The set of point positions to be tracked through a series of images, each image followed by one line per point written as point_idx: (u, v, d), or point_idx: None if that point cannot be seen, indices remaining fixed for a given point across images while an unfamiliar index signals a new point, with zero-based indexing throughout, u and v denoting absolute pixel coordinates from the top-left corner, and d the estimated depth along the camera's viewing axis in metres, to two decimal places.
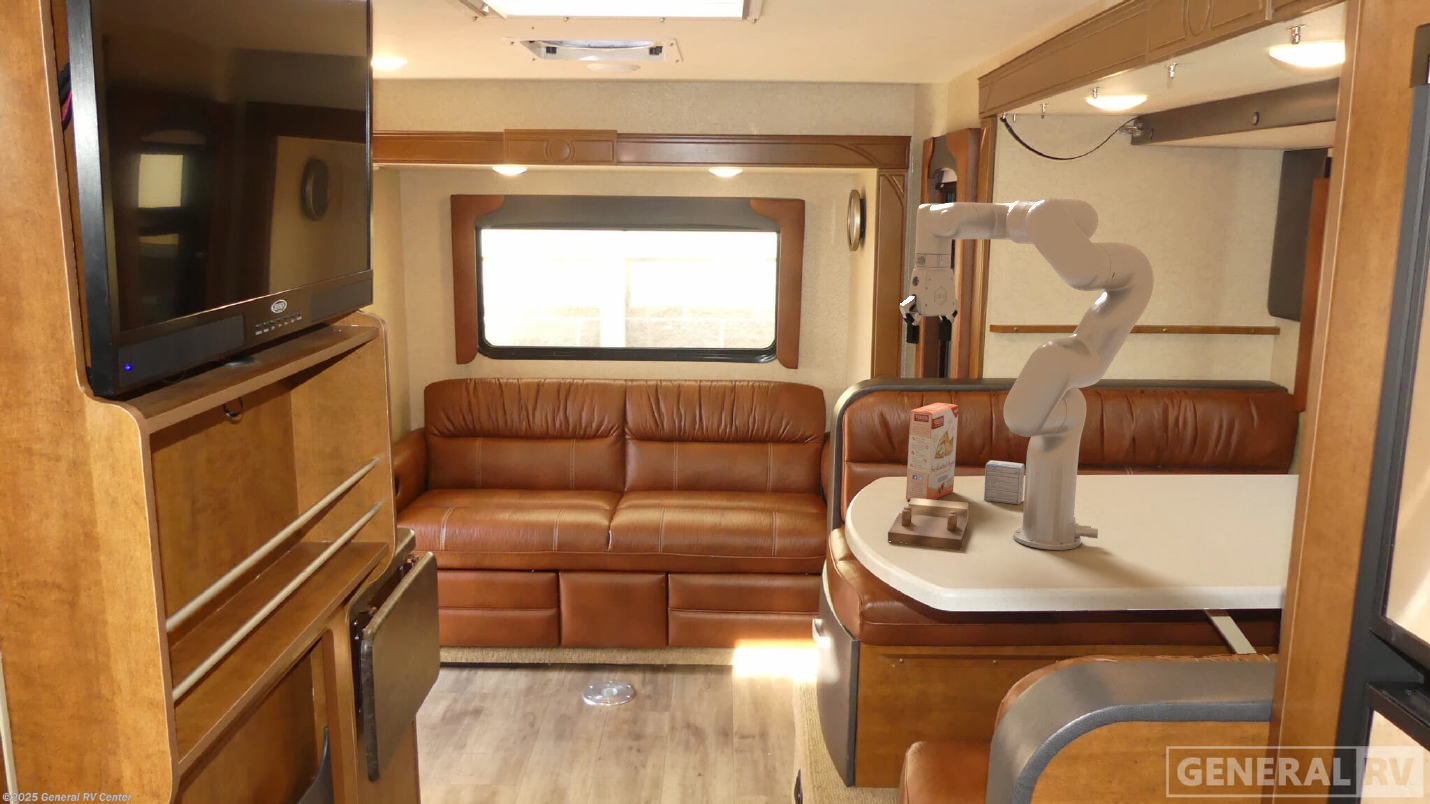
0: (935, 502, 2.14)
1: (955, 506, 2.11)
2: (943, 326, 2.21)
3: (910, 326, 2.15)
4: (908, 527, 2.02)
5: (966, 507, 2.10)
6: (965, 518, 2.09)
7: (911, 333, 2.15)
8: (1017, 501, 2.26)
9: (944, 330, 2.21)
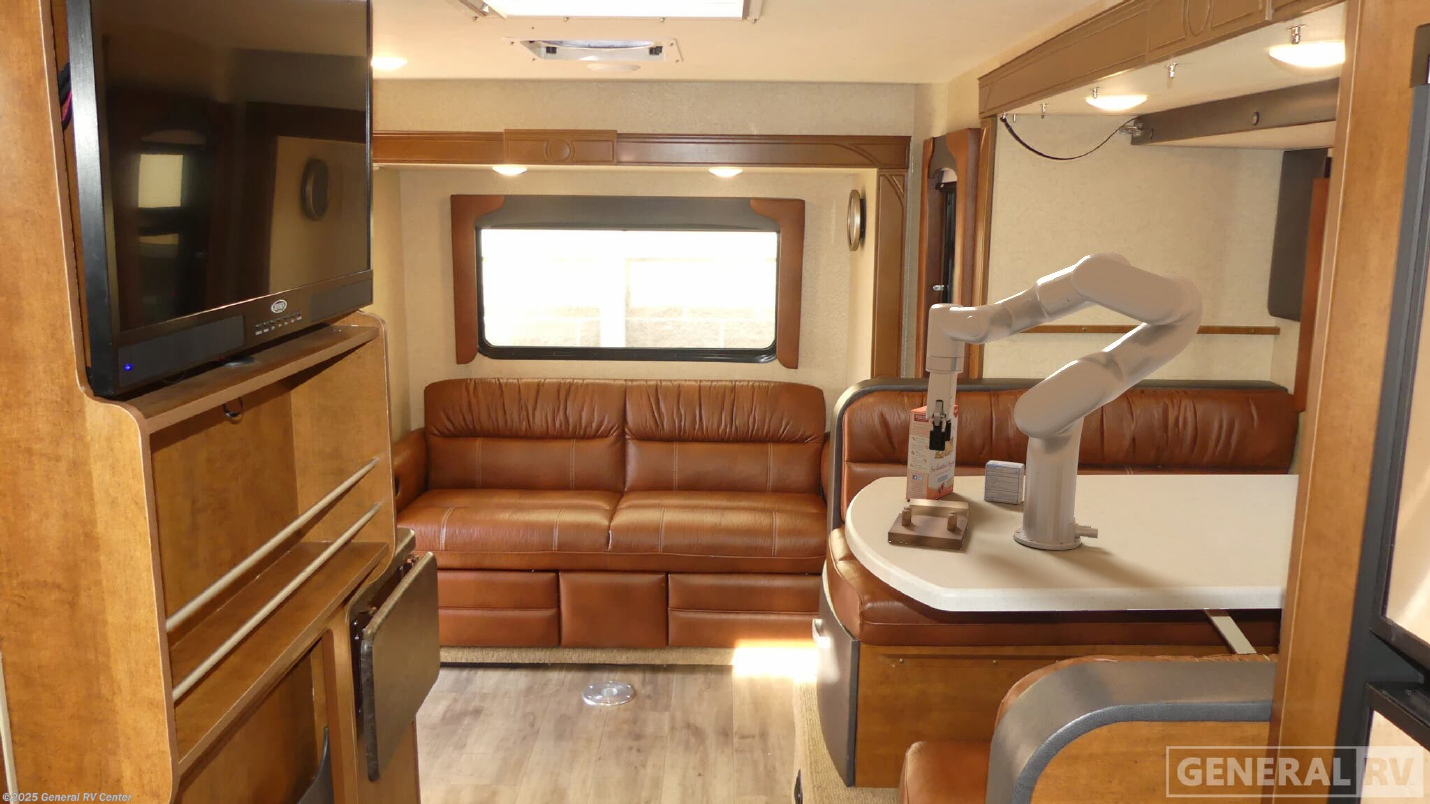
0: (935, 502, 2.14)
1: (956, 506, 2.11)
2: None
3: None
4: (908, 527, 2.02)
5: (967, 506, 2.10)
6: (966, 517, 2.10)
7: None
8: (1017, 501, 2.26)
9: None
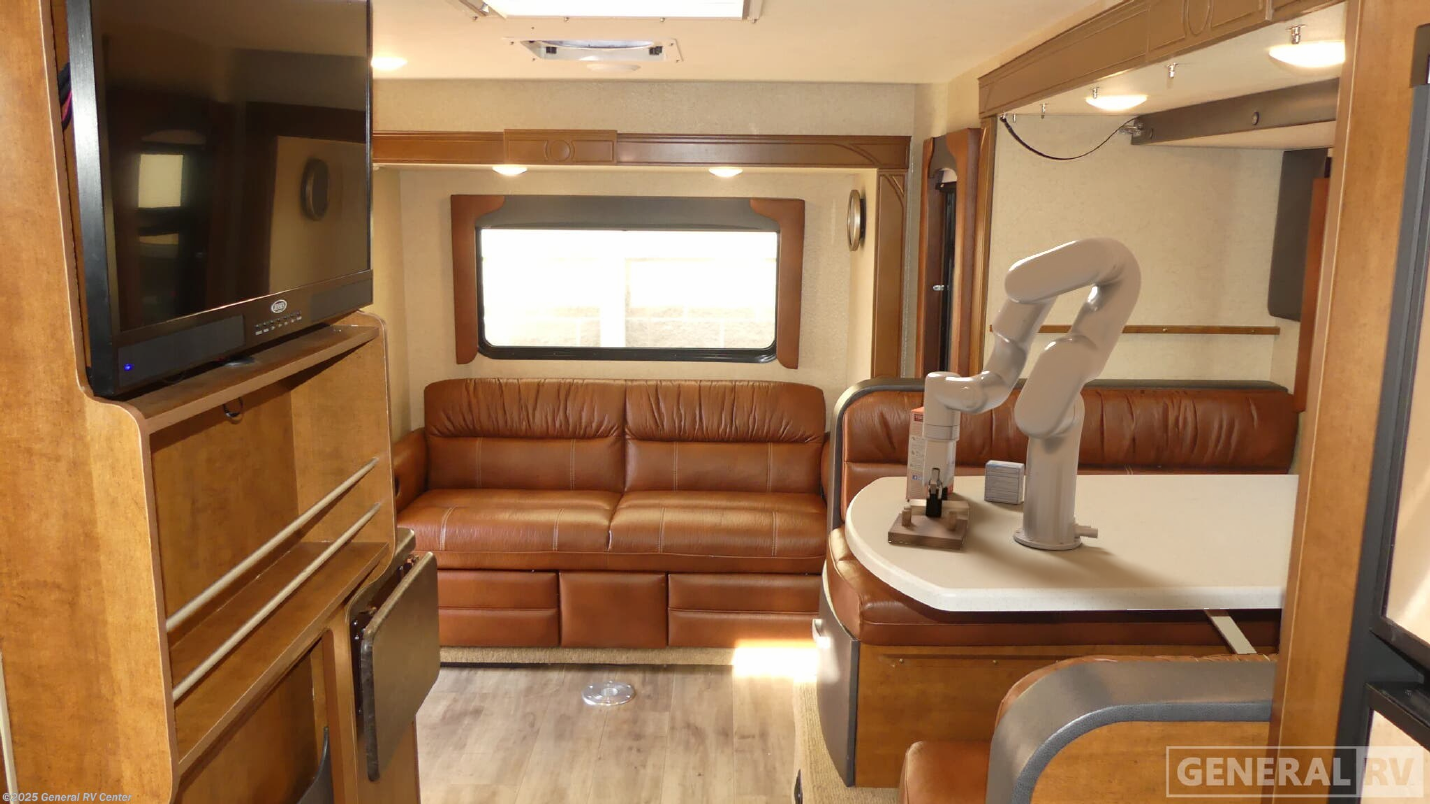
0: None
1: (956, 505, 2.11)
2: None
3: None
4: (908, 527, 2.02)
5: (967, 506, 2.11)
6: (967, 517, 2.10)
7: None
8: (1017, 501, 2.26)
9: None
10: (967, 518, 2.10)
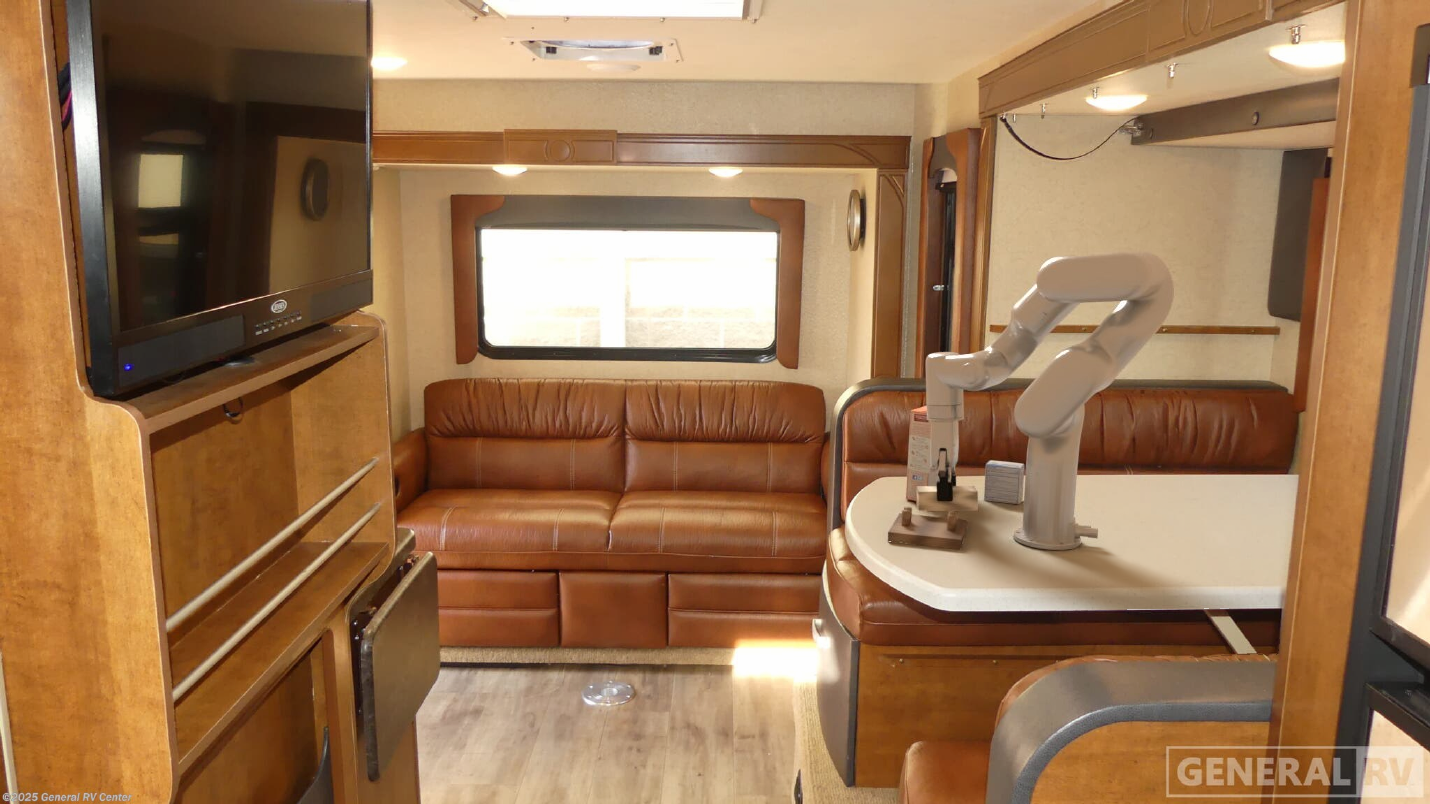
0: None
1: (964, 490, 2.10)
2: None
3: None
4: (908, 527, 2.02)
5: (975, 490, 2.09)
6: (976, 501, 2.09)
7: None
8: (1017, 501, 2.26)
9: None
10: (976, 502, 2.09)
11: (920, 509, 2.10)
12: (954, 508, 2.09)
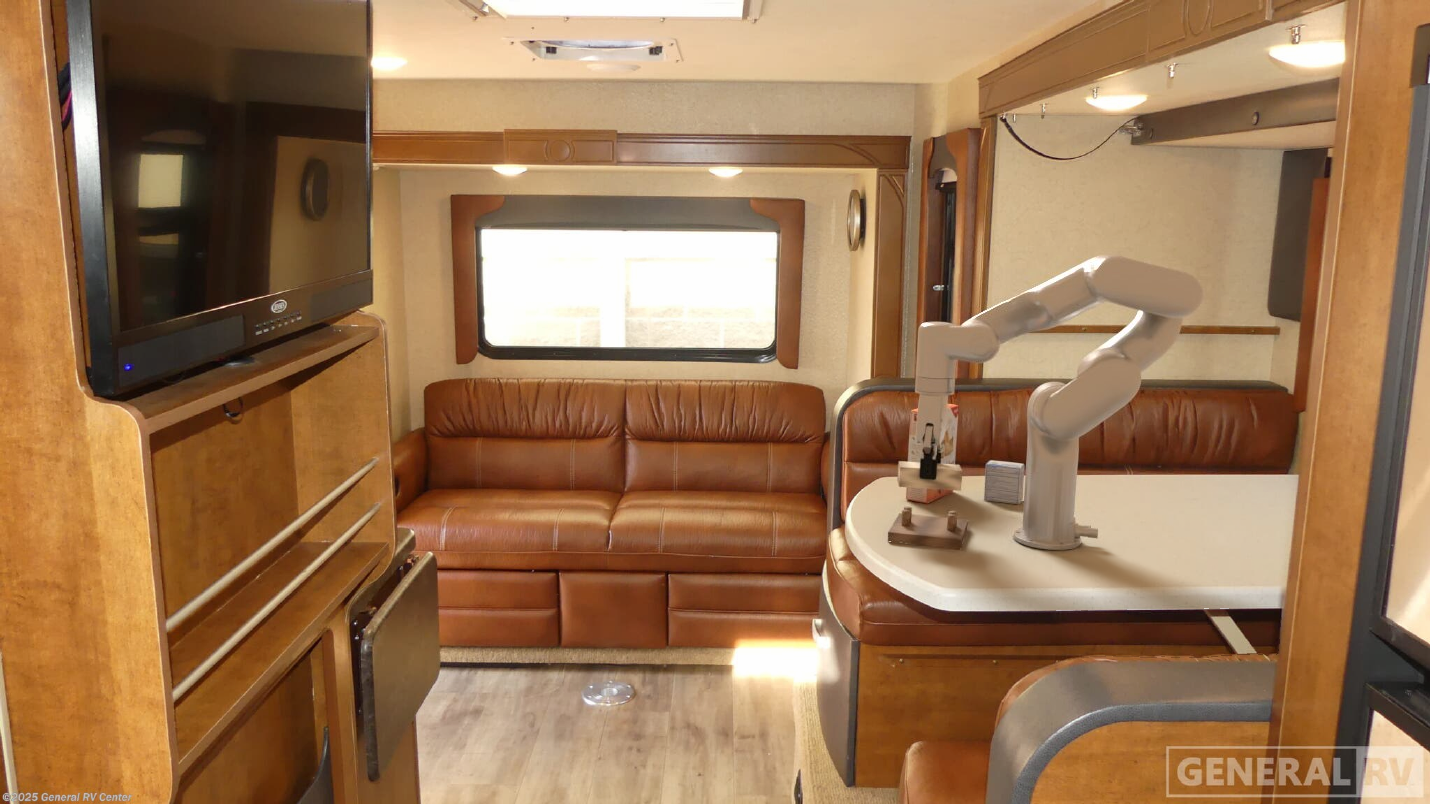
0: None
1: (948, 468, 1.99)
2: None
3: None
4: (908, 527, 2.02)
5: (960, 469, 1.99)
6: (960, 480, 1.98)
7: None
8: (1017, 501, 2.26)
9: None
10: (960, 481, 1.98)
11: (901, 485, 1.99)
12: (936, 487, 1.99)
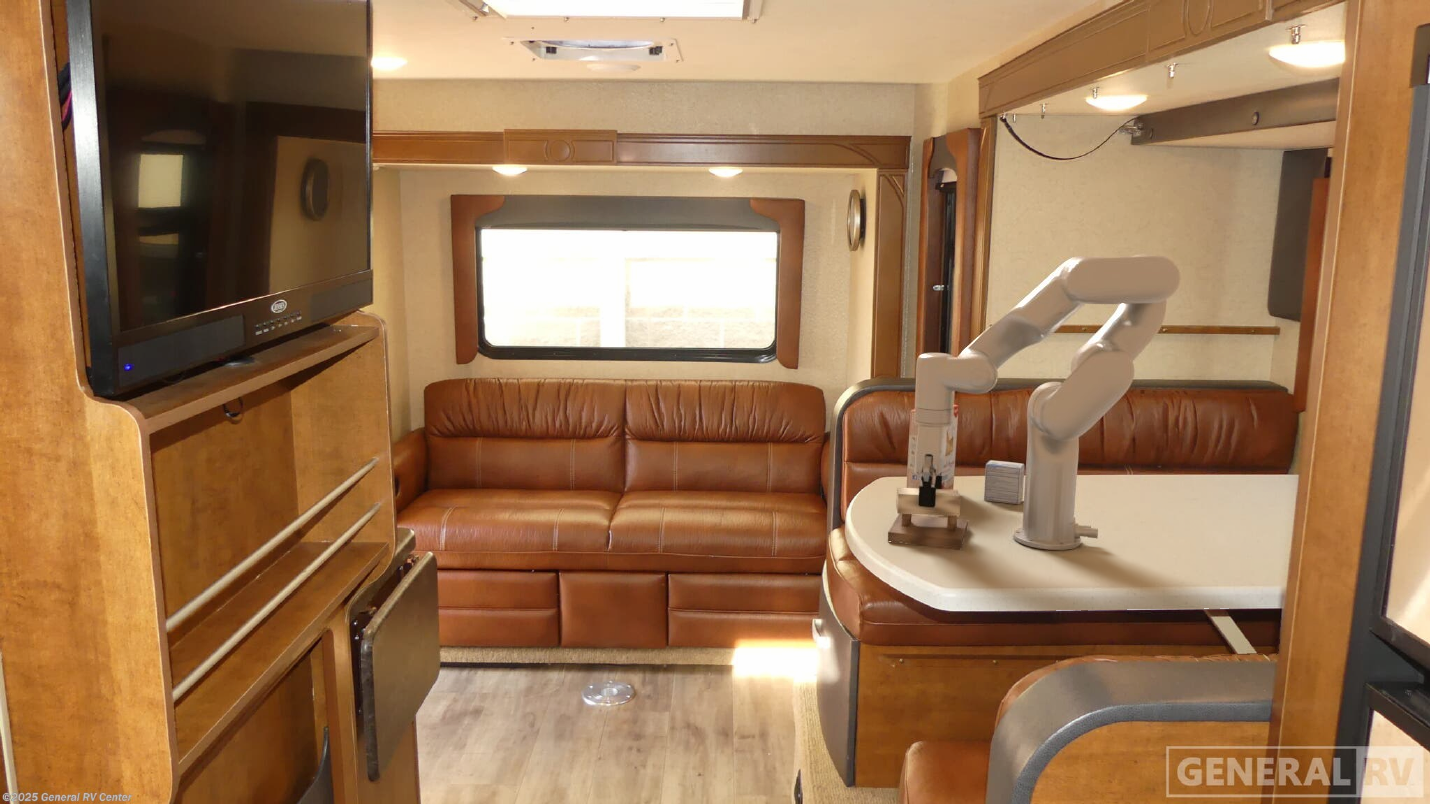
0: None
1: (946, 494, 2.00)
2: None
3: None
4: (908, 527, 2.02)
5: (958, 494, 2.00)
6: (958, 506, 1.99)
7: None
8: (1017, 501, 2.26)
9: None
10: (958, 507, 1.99)
11: (899, 512, 2.00)
12: (935, 513, 2.00)
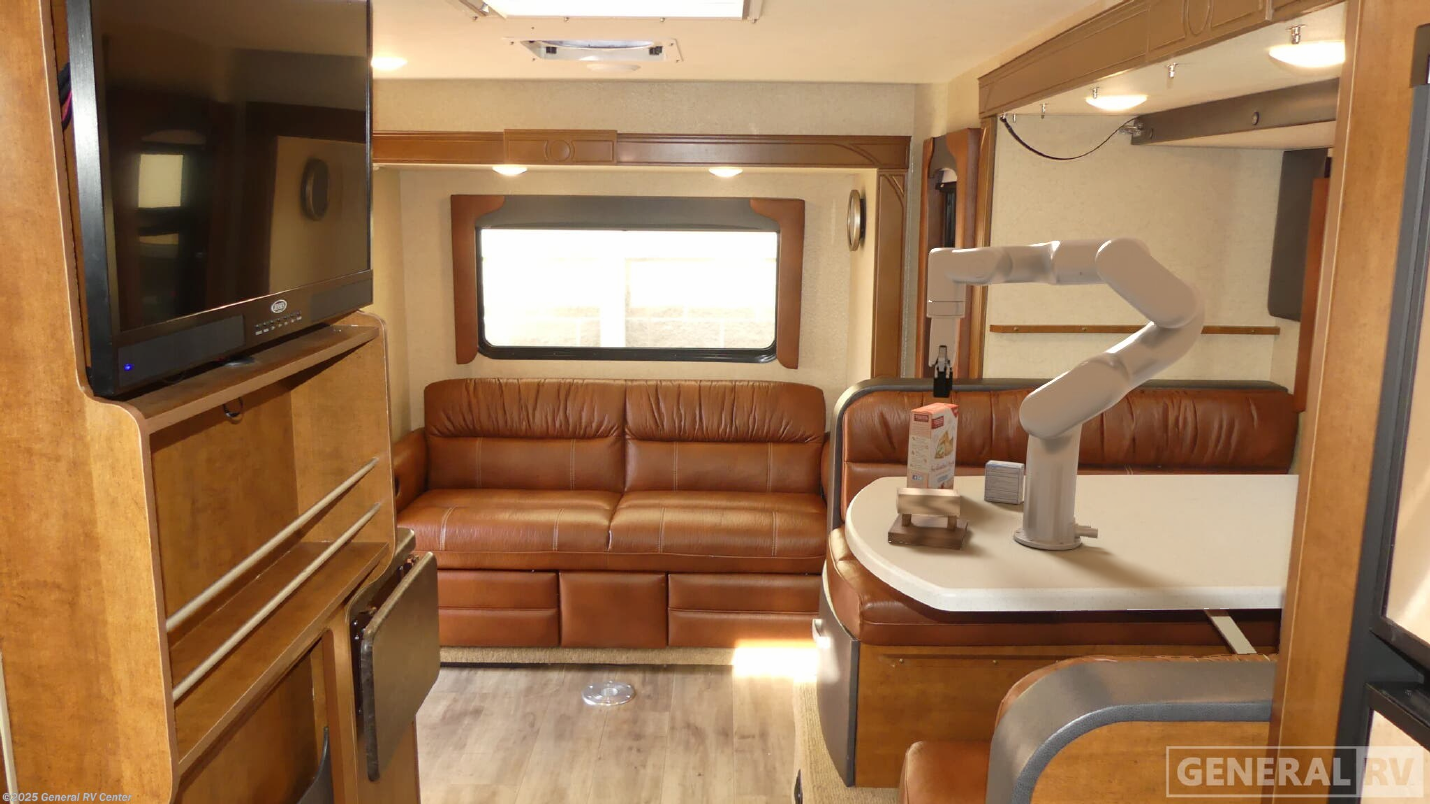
0: (924, 491, 2.02)
1: (946, 494, 2.00)
2: None
3: None
4: (908, 527, 2.02)
5: (958, 494, 2.00)
6: (958, 506, 1.99)
7: None
8: (1017, 501, 2.26)
9: None
10: (958, 507, 1.99)
11: (899, 512, 2.00)
12: (935, 513, 2.00)
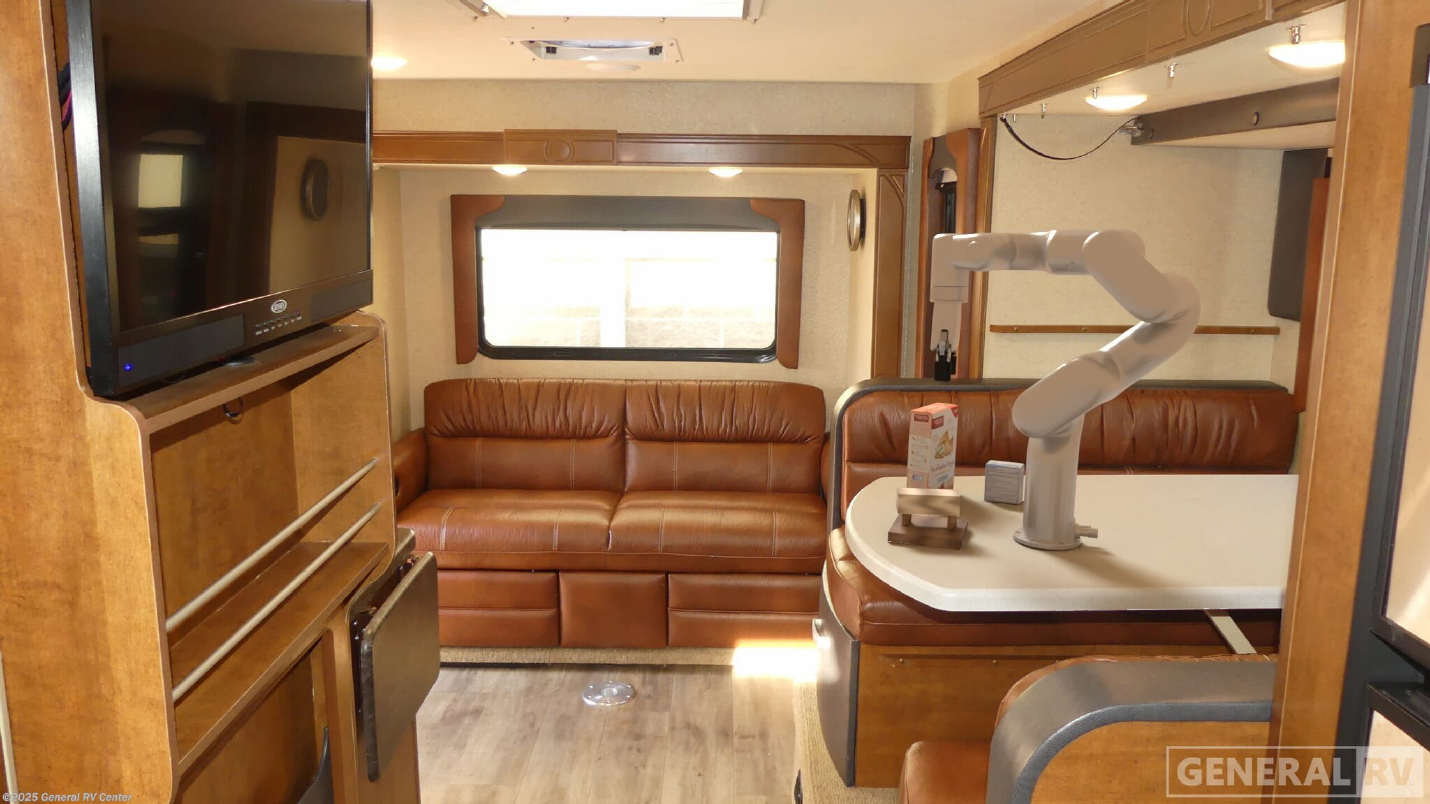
0: (924, 491, 2.02)
1: (946, 494, 2.00)
2: None
3: None
4: (908, 527, 2.02)
5: (958, 494, 2.00)
6: (958, 506, 1.99)
7: None
8: (1017, 501, 2.26)
9: None
10: (958, 507, 1.99)
11: (899, 512, 2.00)
12: (935, 513, 2.00)
